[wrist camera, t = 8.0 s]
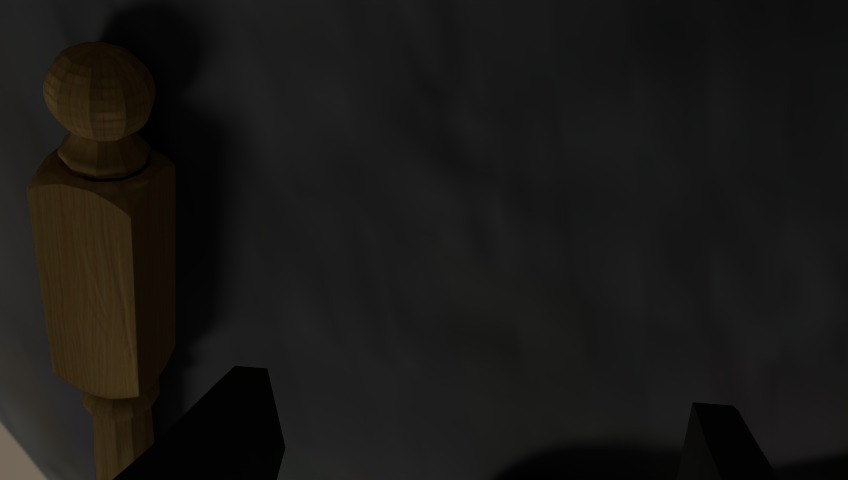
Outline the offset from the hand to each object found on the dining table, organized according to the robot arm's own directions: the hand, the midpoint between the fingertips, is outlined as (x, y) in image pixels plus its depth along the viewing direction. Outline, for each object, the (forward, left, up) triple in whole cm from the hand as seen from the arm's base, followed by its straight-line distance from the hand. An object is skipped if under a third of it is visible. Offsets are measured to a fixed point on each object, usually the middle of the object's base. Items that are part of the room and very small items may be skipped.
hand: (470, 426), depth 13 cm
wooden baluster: (+10, +15, -10) cm, 21 cm away
